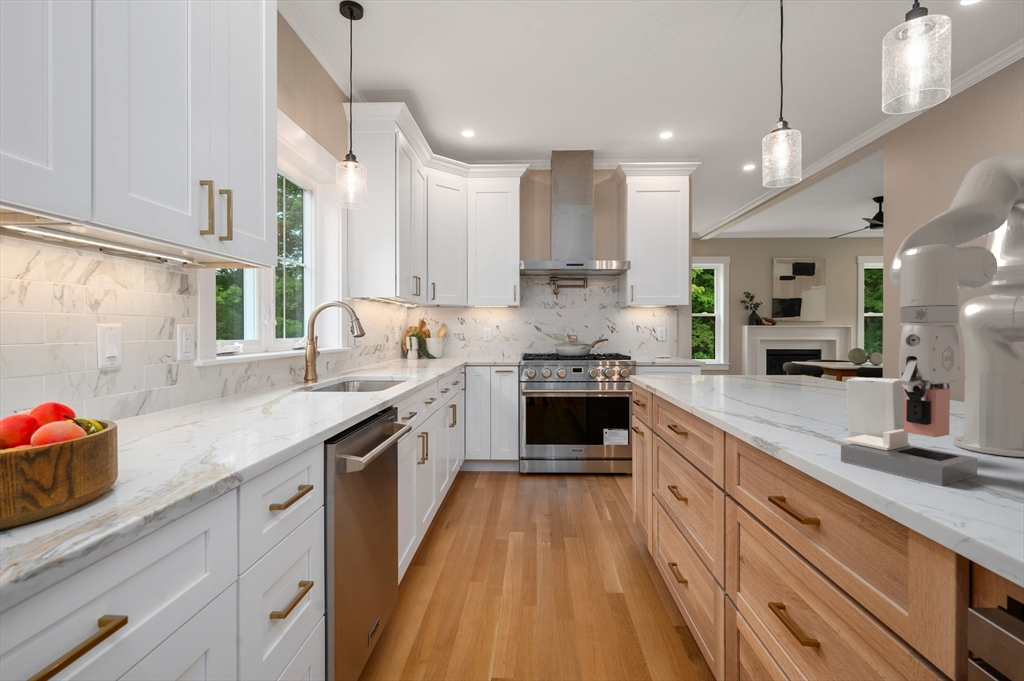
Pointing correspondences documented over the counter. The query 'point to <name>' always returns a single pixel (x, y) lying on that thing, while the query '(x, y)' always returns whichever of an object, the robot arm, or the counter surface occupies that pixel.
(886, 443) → the cream stepped block
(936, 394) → the plug
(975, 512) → the counter surface
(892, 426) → the skincare box
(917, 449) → the socket
